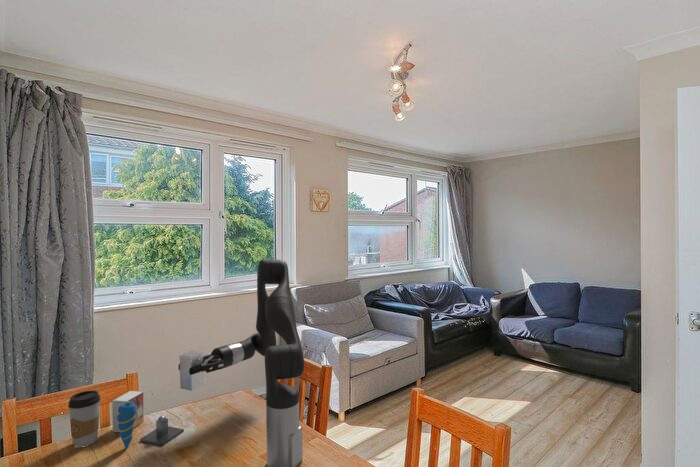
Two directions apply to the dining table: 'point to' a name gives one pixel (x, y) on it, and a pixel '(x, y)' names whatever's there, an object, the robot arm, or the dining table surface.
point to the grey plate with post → (162, 433)
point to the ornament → (126, 421)
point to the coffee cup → (84, 417)
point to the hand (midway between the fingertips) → (184, 369)
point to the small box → (130, 396)
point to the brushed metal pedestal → (187, 362)
